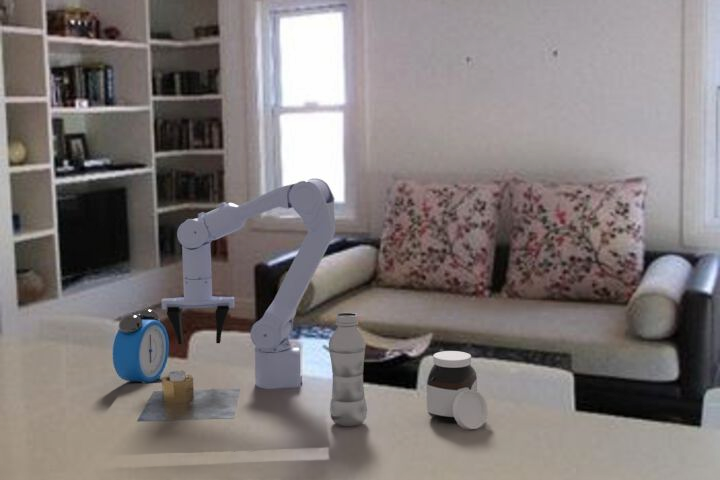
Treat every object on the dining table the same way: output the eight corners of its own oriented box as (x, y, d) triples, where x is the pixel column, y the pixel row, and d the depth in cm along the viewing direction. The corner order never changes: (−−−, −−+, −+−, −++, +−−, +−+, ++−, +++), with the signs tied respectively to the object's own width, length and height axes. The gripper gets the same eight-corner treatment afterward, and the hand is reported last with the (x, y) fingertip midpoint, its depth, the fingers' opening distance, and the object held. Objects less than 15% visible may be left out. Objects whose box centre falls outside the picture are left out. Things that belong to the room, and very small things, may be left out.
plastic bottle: (363, 431, 151) (362, 319, 149) (325, 429, 153) (324, 317, 150) (370, 419, 158) (369, 311, 155) (334, 417, 159) (332, 310, 157)
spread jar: (444, 406, 165) (444, 347, 163) (500, 416, 159) (501, 354, 157) (415, 425, 154) (415, 361, 153) (474, 436, 149) (474, 369, 147)
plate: (240, 396, 173) (239, 364, 172) (233, 426, 155) (232, 390, 154) (153, 398, 171) (152, 366, 171) (137, 429, 154) (135, 393, 153)
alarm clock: (138, 391, 177) (135, 318, 175) (112, 388, 179) (108, 317, 177) (171, 374, 189) (168, 306, 187) (146, 371, 191) (143, 305, 189)
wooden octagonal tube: (198, 395, 168) (198, 375, 167) (181, 404, 163) (180, 383, 162) (175, 392, 170) (174, 372, 170) (157, 400, 165) (156, 380, 165)
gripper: (234, 273, 181) (236, 337, 182) (164, 274, 180) (166, 339, 181) (232, 279, 174) (234, 345, 175) (158, 280, 173) (161, 347, 174)
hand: (199, 342), depth 178 cm, fingers open, 7 cm apart
